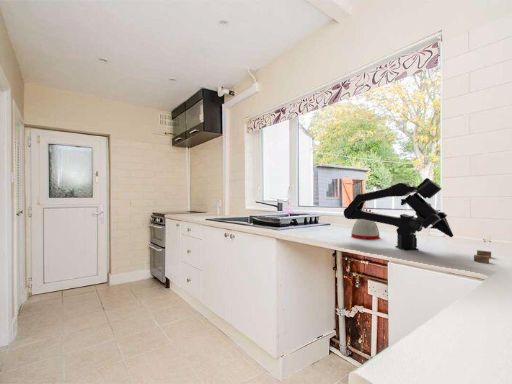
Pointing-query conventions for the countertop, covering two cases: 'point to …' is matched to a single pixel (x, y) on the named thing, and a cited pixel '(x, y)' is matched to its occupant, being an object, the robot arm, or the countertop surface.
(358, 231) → the grey red beanie hat
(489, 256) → the wooden blocks
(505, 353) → the countertop surface
